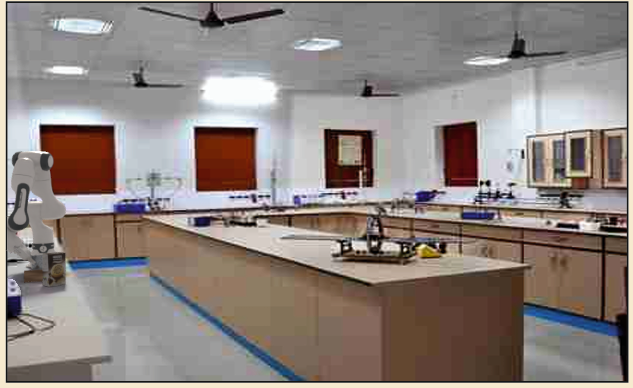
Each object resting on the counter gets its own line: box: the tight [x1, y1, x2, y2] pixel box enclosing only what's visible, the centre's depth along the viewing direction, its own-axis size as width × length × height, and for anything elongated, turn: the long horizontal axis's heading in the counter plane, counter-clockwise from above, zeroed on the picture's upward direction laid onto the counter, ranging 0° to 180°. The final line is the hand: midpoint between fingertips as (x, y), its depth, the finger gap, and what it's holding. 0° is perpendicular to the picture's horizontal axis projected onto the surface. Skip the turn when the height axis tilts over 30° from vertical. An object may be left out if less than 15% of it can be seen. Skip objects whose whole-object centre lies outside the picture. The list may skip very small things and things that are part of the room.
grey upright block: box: [31, 255, 43, 270], centre depth 329 cm, size 6×6×11 cm
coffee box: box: [42, 251, 67, 288], centre depth 301 cm, size 9×6×16 cm
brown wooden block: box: [23, 269, 43, 284], centre depth 315 cm, size 11×14×6 cm
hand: (35, 262), depth 328 cm, fingers open, 8 cm apart
